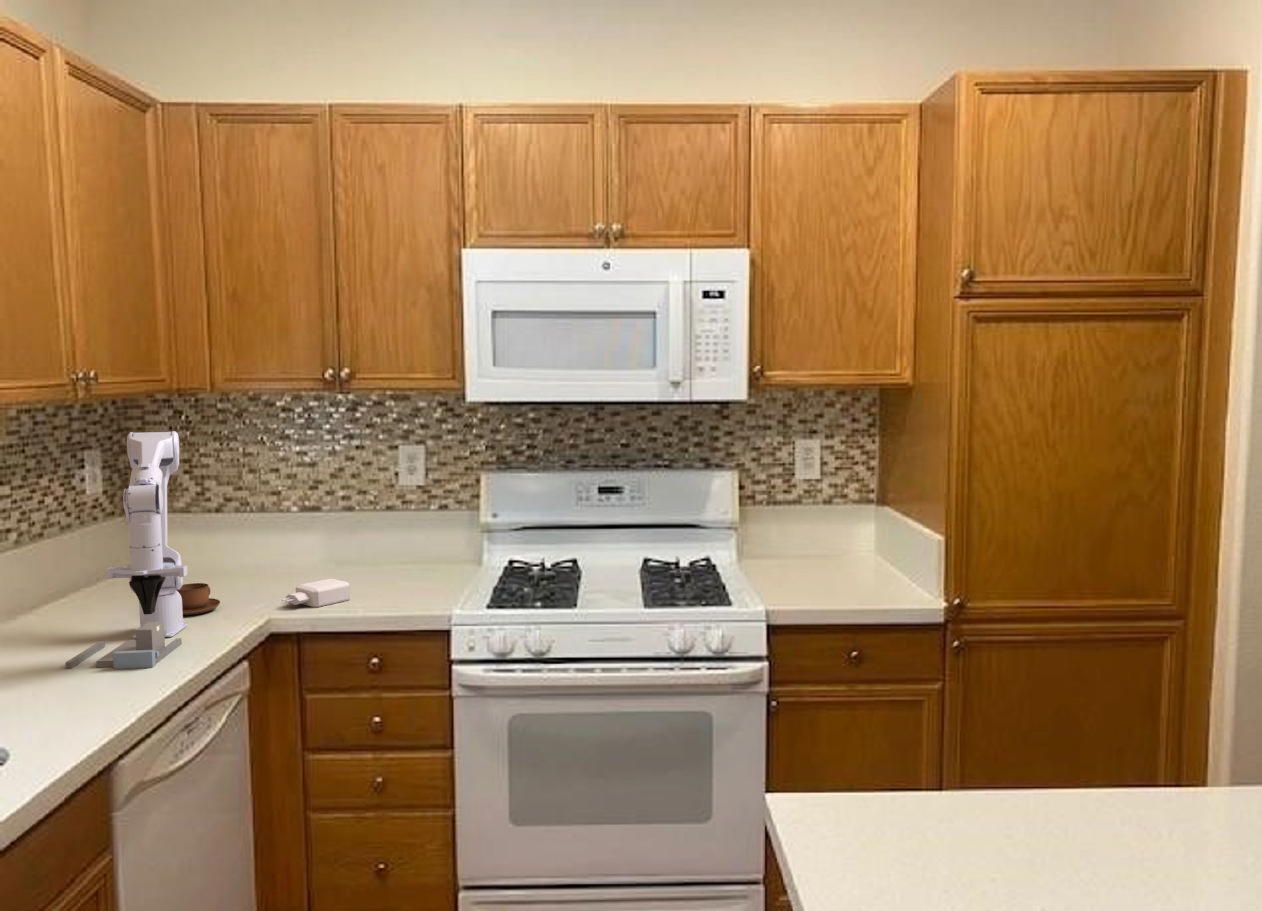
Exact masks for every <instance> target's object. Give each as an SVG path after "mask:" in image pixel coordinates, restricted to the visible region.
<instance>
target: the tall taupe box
mask: <svg viewBox="0 0 1262 911" xmlns="http://www.w3.org/2000/svg"><path fill="white" fill-rule="evenodd" d="M135 634H136V638H135V640H136V650H155V651H160V650H162V649H163V648H164V647H166V646H165V644H166V642H165V637H164V636H165V635H166V630H165V629H164V621H163V622H147V623H146V624H144V625H143V626H141V627H140V626H139V627H138V628H137V629H135Z"/></svg>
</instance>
